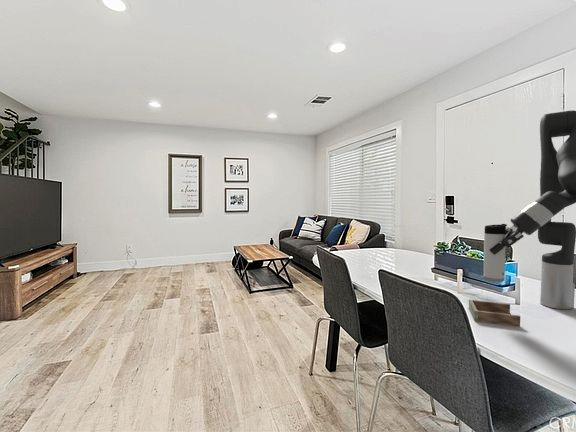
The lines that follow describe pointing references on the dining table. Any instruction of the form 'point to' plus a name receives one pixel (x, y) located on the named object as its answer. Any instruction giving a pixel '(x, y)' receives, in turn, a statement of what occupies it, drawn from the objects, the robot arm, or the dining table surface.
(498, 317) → the brown wooden tray
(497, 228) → the travel mug
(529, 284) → the dining table surface
